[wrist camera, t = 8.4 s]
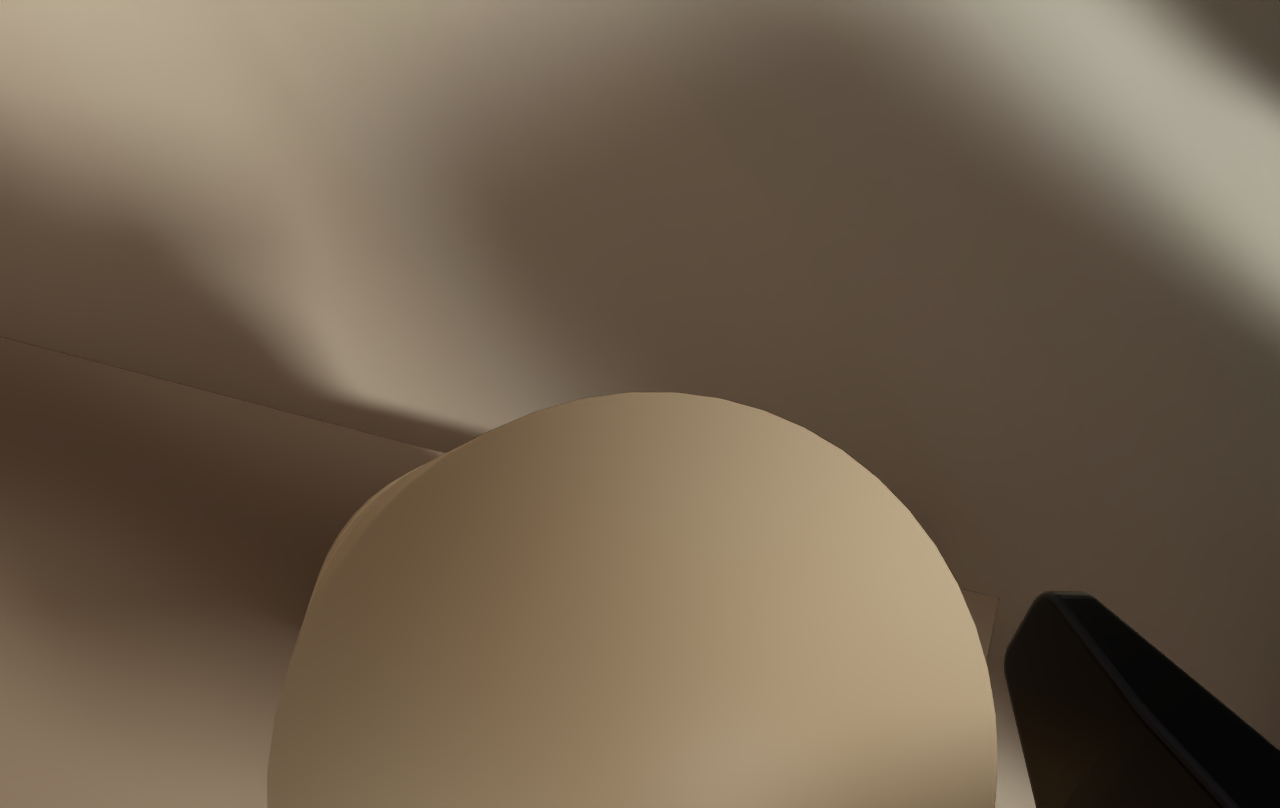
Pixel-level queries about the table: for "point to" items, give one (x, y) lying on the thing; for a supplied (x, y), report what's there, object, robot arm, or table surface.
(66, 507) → the board
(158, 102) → the table surface
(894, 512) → the beige round column
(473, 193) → the table surface
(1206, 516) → the table surface
